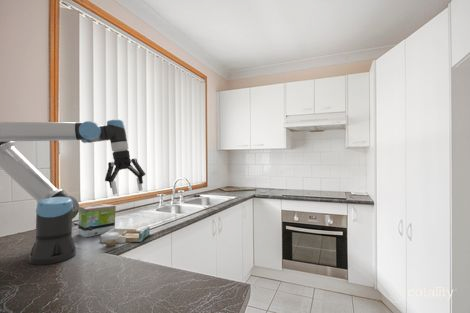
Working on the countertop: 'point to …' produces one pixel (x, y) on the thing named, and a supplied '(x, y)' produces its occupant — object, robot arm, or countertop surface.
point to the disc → (110, 236)
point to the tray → (136, 235)
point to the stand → (110, 243)
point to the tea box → (96, 219)
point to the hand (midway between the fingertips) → (127, 192)
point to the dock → (119, 230)
